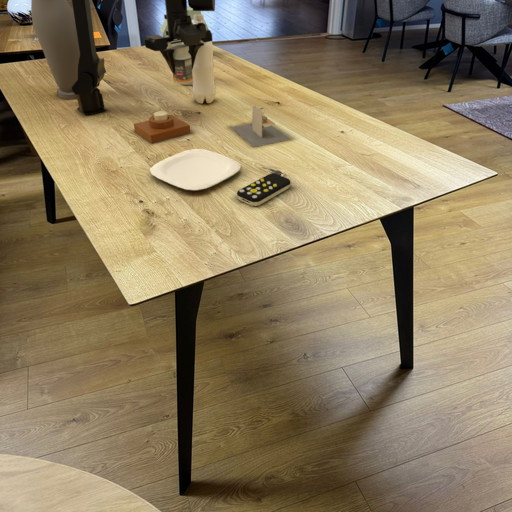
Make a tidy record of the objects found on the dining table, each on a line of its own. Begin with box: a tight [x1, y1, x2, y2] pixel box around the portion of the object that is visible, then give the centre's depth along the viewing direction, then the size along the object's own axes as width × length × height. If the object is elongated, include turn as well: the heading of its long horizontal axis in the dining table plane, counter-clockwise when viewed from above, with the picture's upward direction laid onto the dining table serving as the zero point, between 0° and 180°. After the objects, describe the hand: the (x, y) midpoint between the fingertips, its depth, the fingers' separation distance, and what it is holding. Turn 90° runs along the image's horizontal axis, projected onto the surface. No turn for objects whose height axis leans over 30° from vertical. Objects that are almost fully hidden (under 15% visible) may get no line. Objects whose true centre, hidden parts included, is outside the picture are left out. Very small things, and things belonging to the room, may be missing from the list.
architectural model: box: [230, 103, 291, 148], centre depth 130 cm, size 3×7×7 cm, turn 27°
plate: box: [149, 148, 242, 192], centre depth 112 cm, size 18×18×2 cm
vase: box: [30, 0, 80, 100], centre depth 148 cm, size 13×13×35 cm
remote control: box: [236, 173, 292, 207], centre depth 105 cm, size 6×13×2 cm, turn 138°
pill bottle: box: [172, 44, 193, 85], centre depth 136 cm, size 6×6×10 cm
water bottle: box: [192, 13, 217, 104], centre depth 145 cm, size 7×7×25 cm
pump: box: [153, 110, 168, 121], centre depth 130 cm, size 4×4×2 cm
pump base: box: [133, 113, 191, 144], centre depth 131 cm, size 12×10×4 cm
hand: (182, 71), depth 137 cm, fingers closed on pill bottle, 5 cm apart
